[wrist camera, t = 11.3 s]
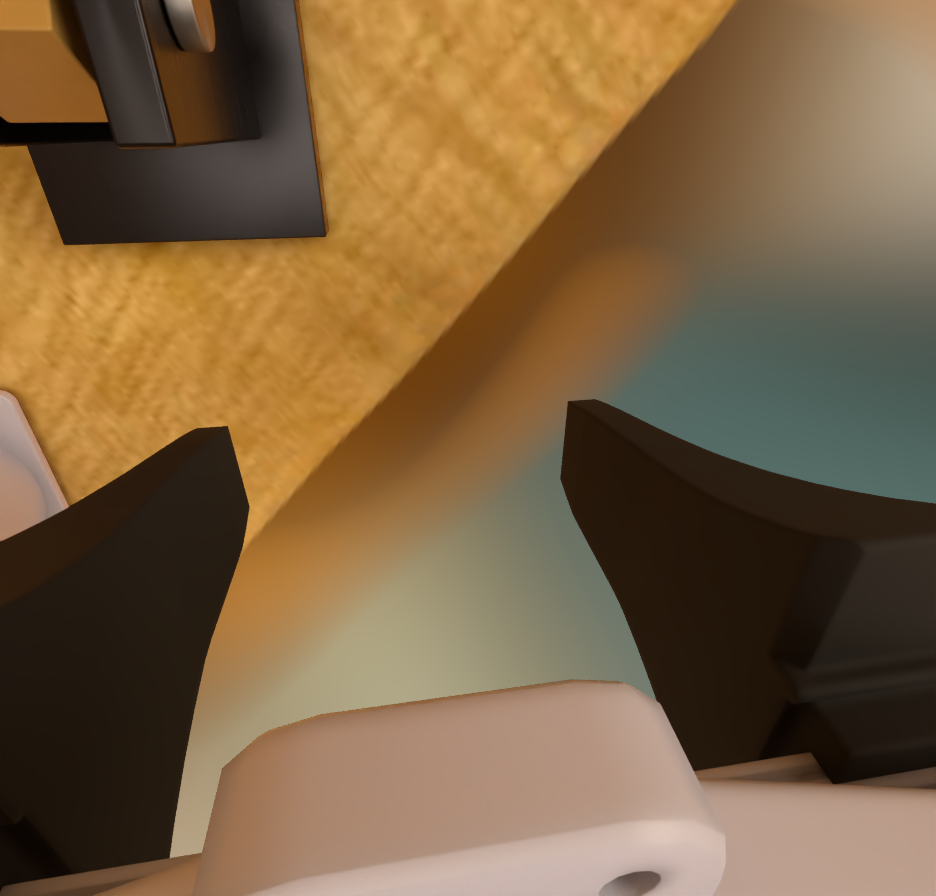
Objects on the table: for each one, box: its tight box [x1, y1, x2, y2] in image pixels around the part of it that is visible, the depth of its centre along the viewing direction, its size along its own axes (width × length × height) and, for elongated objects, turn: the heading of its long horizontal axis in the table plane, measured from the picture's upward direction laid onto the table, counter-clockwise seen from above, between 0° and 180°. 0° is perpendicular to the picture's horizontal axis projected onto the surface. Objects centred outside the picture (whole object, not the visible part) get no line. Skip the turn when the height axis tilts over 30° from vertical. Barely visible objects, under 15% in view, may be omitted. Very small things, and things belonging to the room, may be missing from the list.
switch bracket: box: [0, 0, 329, 245], centre depth 12 cm, size 10×8×9 cm
